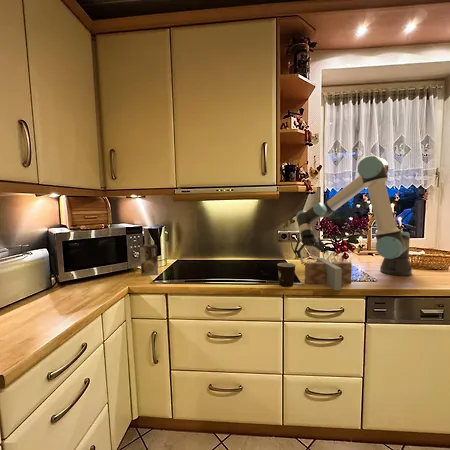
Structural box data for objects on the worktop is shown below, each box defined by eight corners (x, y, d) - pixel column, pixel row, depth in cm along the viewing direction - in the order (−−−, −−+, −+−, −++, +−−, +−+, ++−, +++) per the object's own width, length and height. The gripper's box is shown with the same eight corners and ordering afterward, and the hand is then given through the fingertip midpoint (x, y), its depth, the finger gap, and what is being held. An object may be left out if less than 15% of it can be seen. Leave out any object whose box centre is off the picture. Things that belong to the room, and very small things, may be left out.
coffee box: (157, 271, 168) (156, 244, 166) (158, 274, 161) (157, 246, 160) (140, 273, 165) (139, 245, 163) (141, 276, 159) (140, 247, 157)
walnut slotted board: (348, 281, 145) (348, 261, 144) (351, 283, 142) (351, 263, 141) (304, 282, 144) (305, 262, 143) (306, 283, 141) (307, 263, 140)
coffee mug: (295, 288, 135) (295, 267, 134) (276, 287, 137) (277, 266, 136) (294, 281, 146) (295, 261, 145) (277, 280, 148) (277, 261, 147)
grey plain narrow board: (316, 276, 155) (316, 257, 154) (321, 276, 155) (322, 257, 154) (334, 290, 131) (335, 268, 130) (341, 290, 131) (341, 268, 131)
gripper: (325, 236, 179) (334, 265, 165) (285, 236, 178) (291, 266, 165) (328, 228, 173) (338, 258, 160) (287, 229, 172) (293, 259, 159)
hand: (314, 262), depth 162 cm, fingers open, 13 cm apart
